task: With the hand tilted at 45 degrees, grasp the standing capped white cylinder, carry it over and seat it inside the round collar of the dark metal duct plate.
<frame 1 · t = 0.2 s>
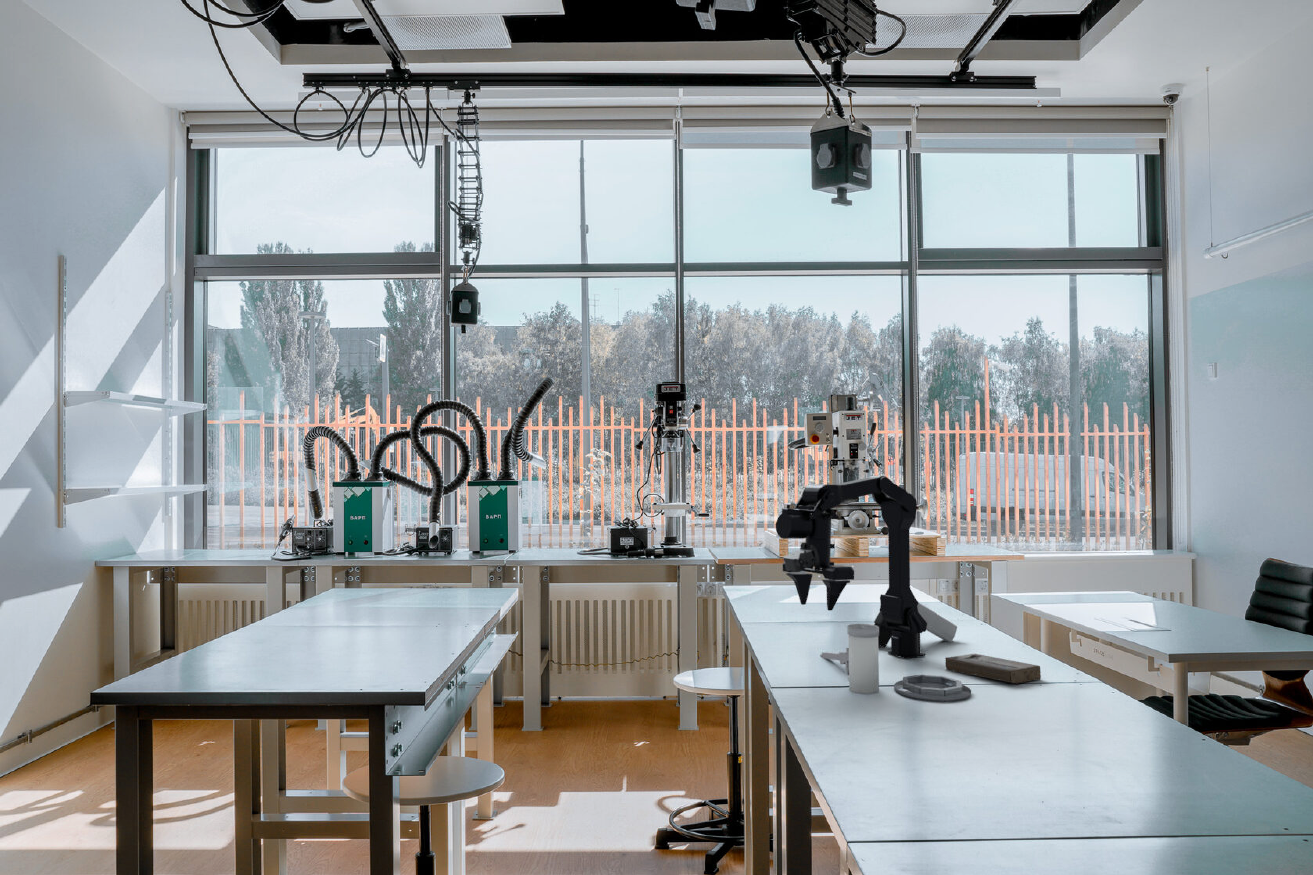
hand: (816, 607, 189), 14 cm above the table, tool pointing down, fingers open, 9 cm apart
box: (992, 677, 184), on the table
capped white cylinder: (864, 689, 172), on the table
caliper: (836, 667, 193), on the table
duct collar: (932, 691, 170), on the table
handheld device: (913, 645, 216), on the table
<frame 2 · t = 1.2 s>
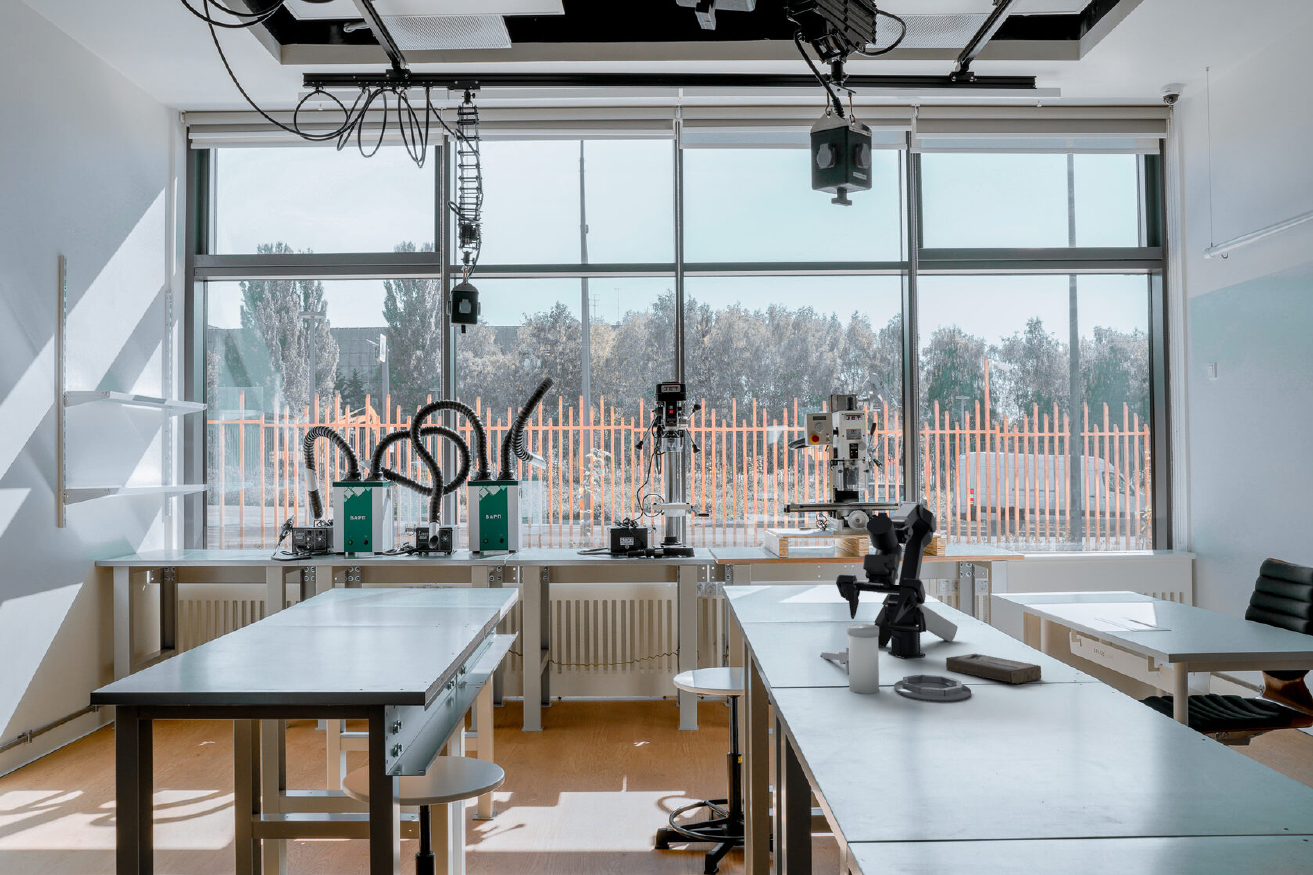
hand: (872, 620, 179), 13 cm above the table, tool tilted 45°, fingers open, 9 cm apart
nothing on the table moved.
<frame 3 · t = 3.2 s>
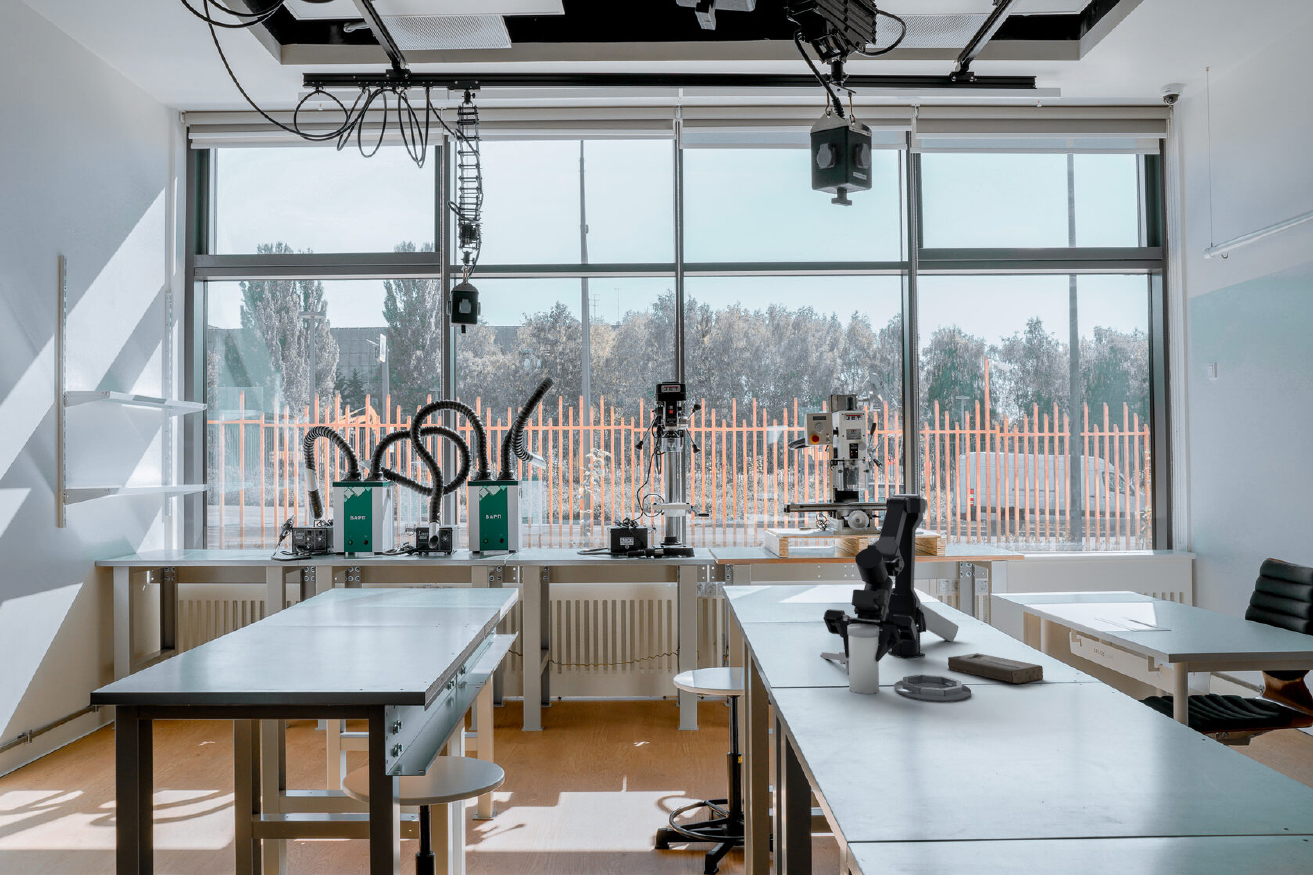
hand: (861, 658, 171), 7 cm above the table, tool tilted 45°, fingers closed on capped white cylinder, 6 cm apart
capped white cylinder: (864, 689, 172), on the table, touching gripper
everything else where it was.
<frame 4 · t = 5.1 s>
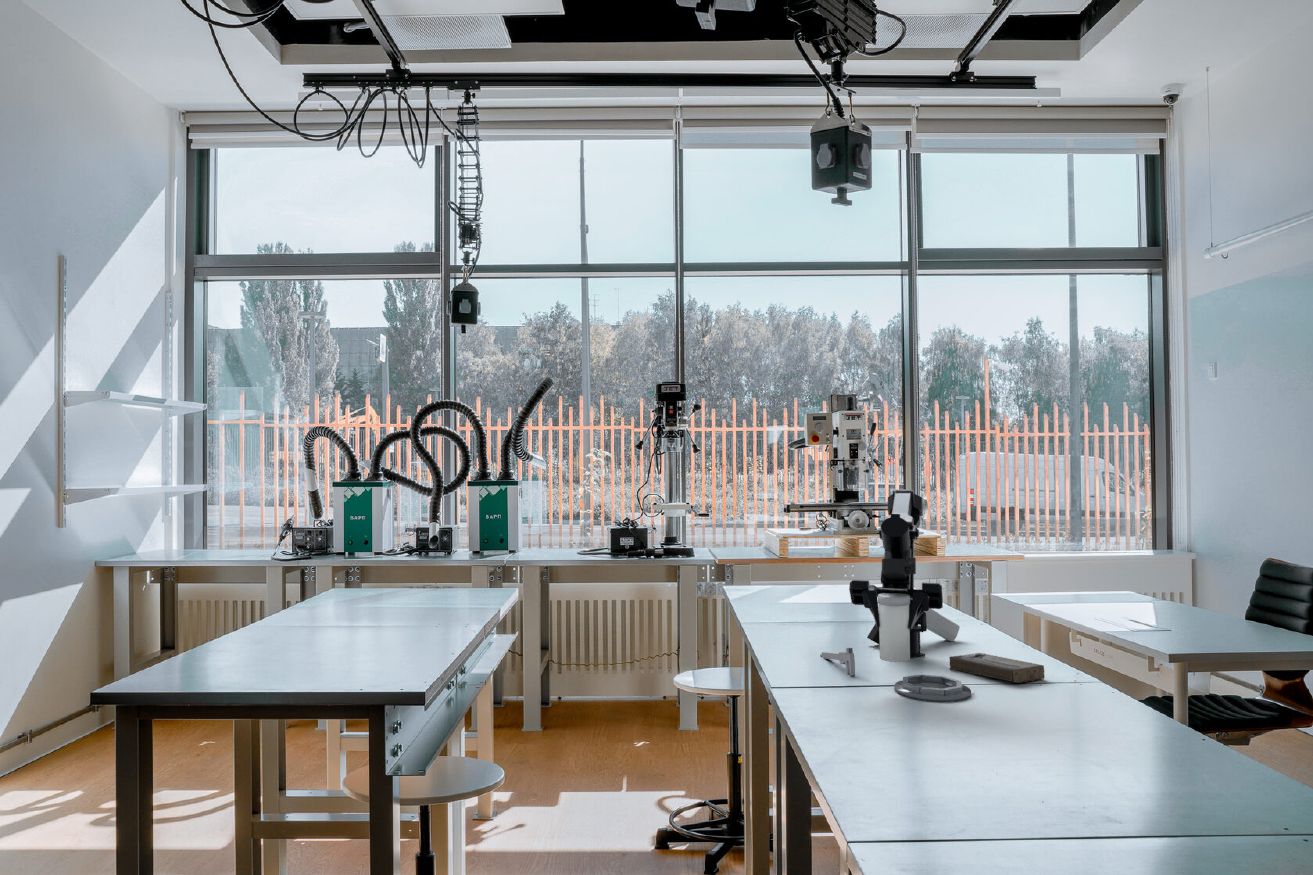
hand: (893, 627, 170), 13 cm above the table, tool tilted 45°, fingers closed on capped white cylinder, 6 cm apart
capped white cylinder: (894, 658, 171), point 7 cm above the table, touching gripper
when the fingers open (9 cm above the table, at t = 6.9 s): capped white cylinder drops 1 cm, resting on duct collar.
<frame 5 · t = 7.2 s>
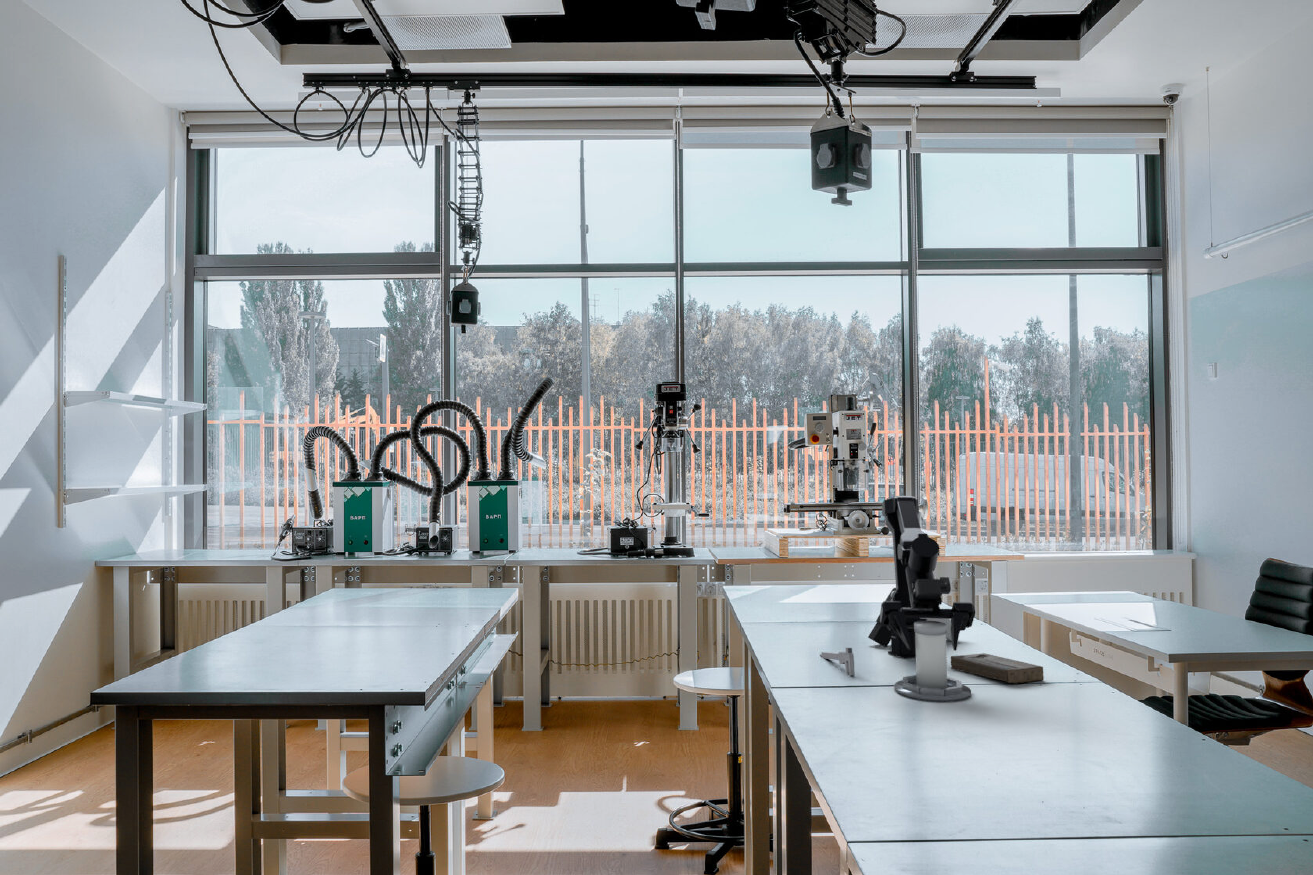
hand: (932, 648, 169), 9 cm above the table, tool tilted 45°, fingers open, 9 cm apart
capped white cylinder: (931, 687, 170), point 1 cm above the table, touching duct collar
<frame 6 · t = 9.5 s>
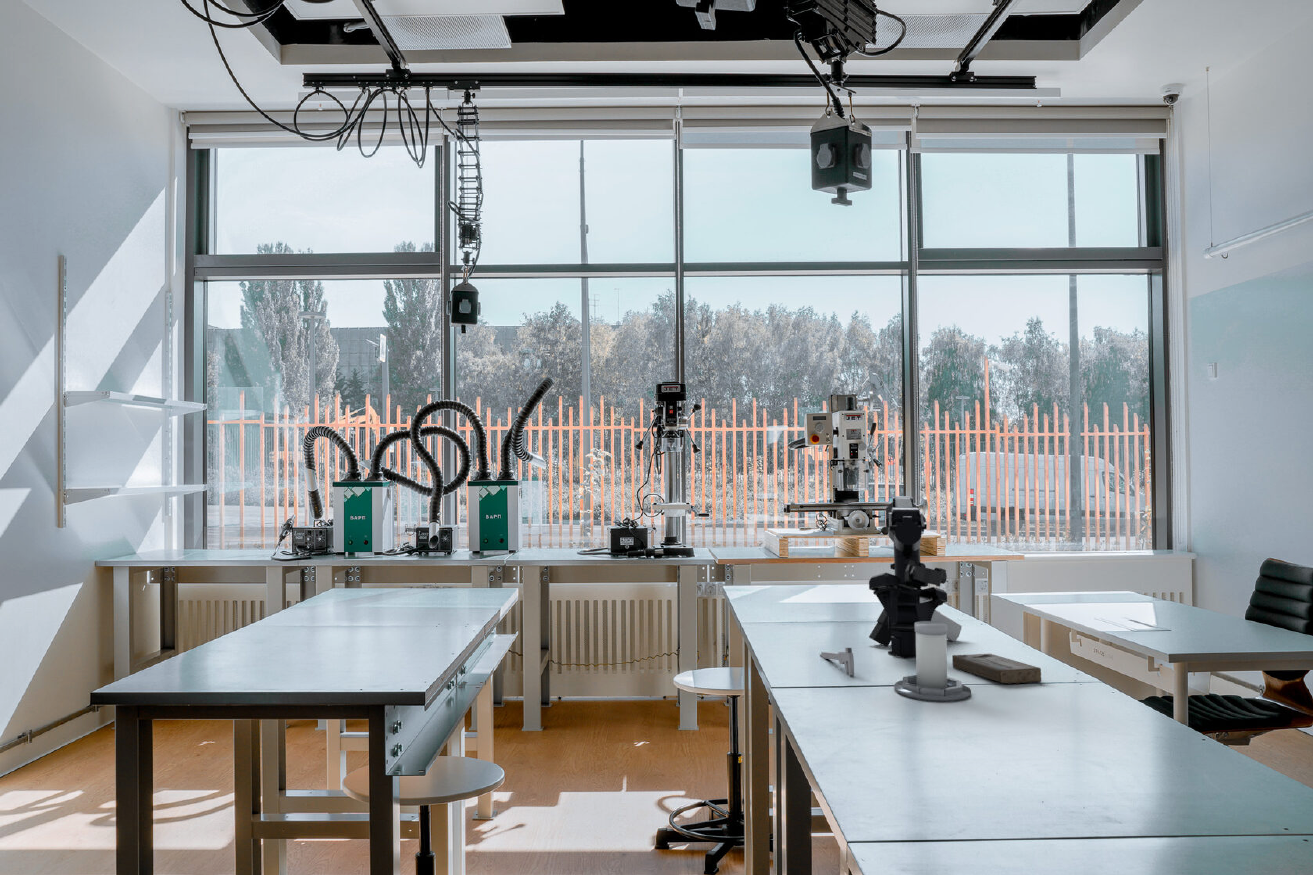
hand: (909, 628, 182), 11 cm above the table, tool tilted 25°, fingers open, 9 cm apart
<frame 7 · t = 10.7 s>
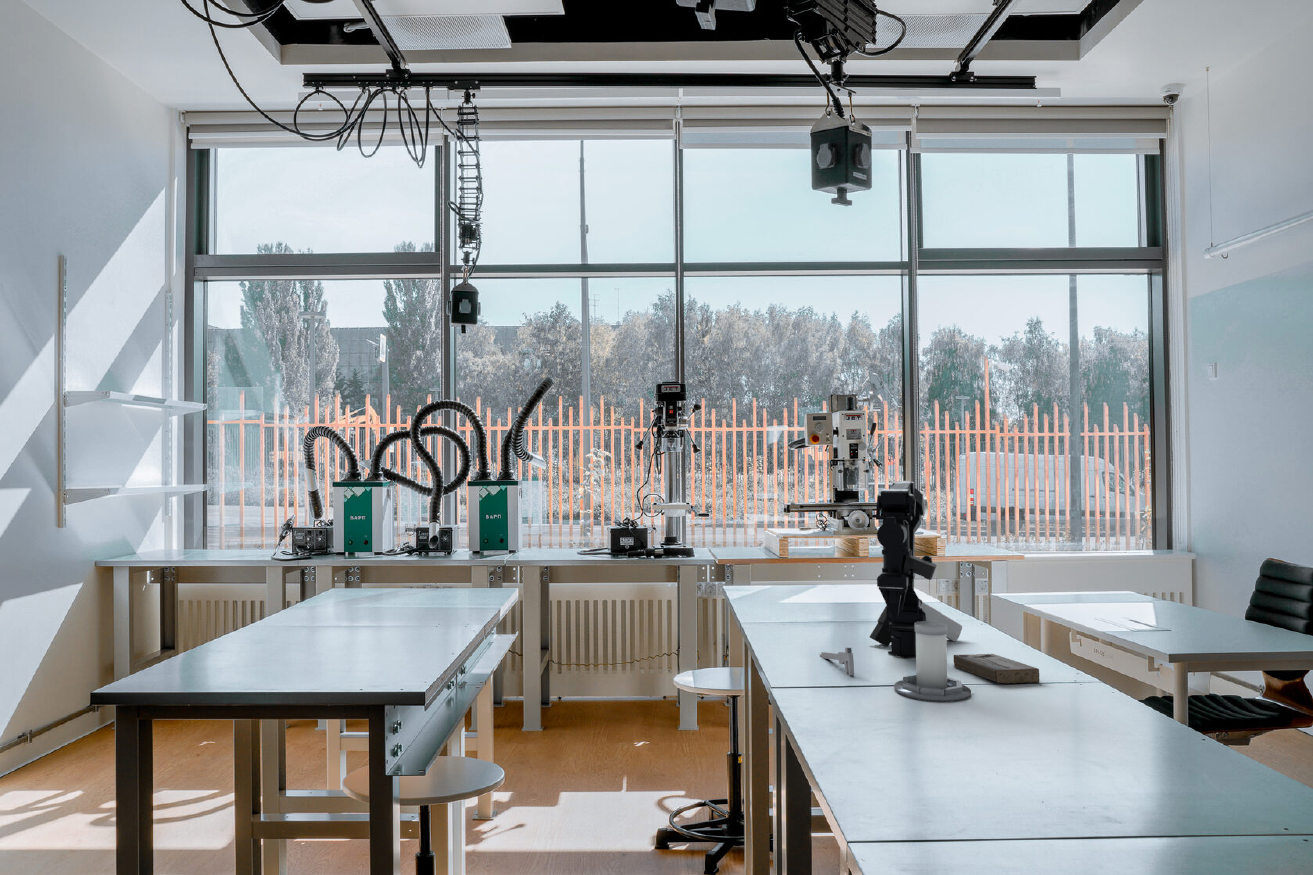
hand: (897, 614, 186), 13 cm above the table, tool pointing down, fingers open, 9 cm apart
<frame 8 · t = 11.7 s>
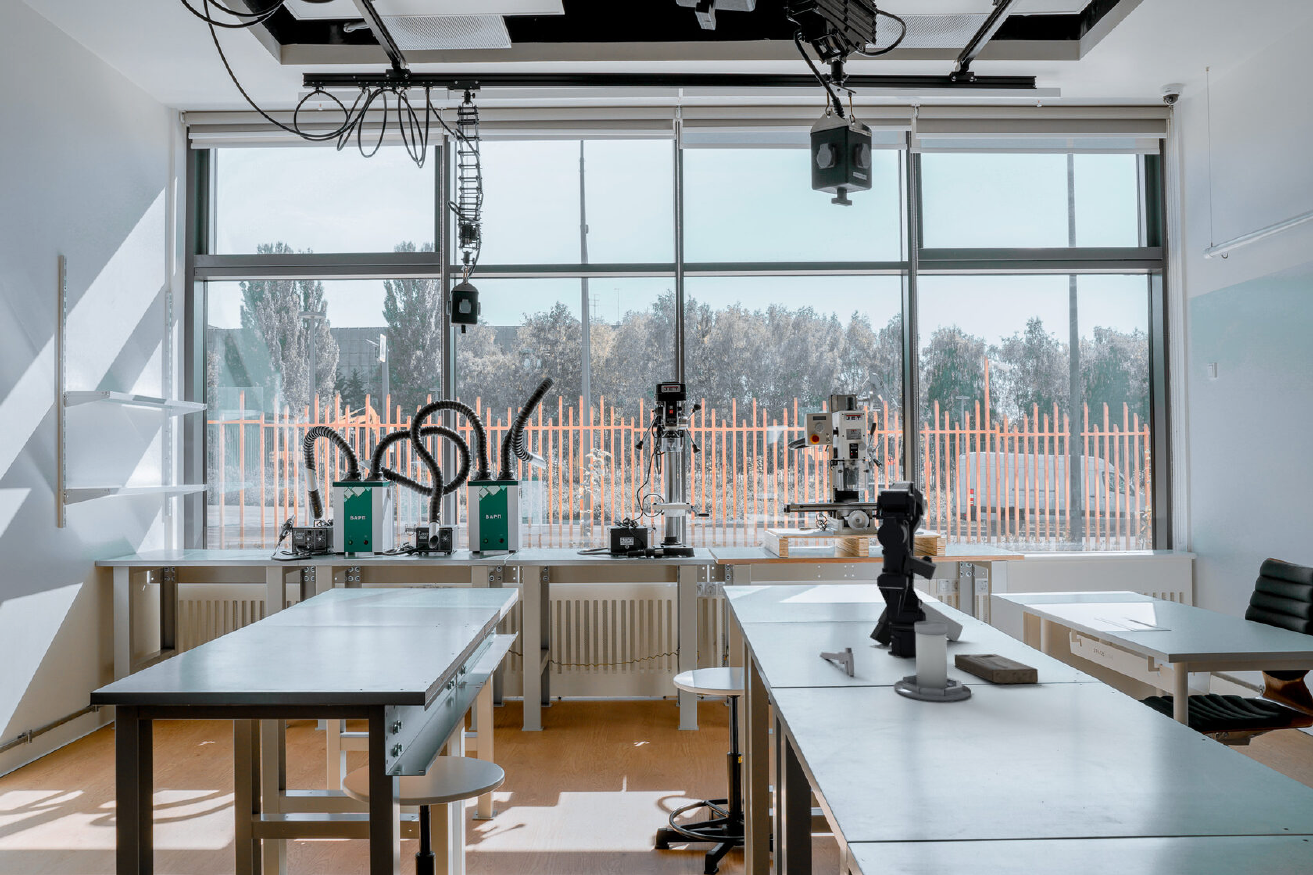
hand: (897, 614, 186), 13 cm above the table, tool pointing down, fingers open, 9 cm apart
at the end: capped white cylinder 0.1 cm off-centre on the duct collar, point 0.8 cm above the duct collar's base; capped white cylinder tilted 0°; the gripper is holding nothing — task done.
